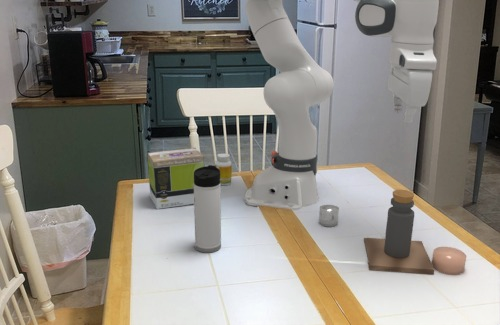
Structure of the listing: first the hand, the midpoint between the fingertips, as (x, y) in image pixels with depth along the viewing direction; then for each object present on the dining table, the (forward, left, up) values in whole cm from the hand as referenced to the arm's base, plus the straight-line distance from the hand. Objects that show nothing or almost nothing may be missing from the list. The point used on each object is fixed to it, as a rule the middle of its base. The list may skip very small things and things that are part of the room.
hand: (402, 117), depth 116 cm
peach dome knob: (+12, -9, -33) cm, 36 cm away
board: (+1, -6, -33) cm, 33 cm away
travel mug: (-44, -7, -33) cm, 55 cm away
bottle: (+1, -6, -31) cm, 32 cm away
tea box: (-59, +21, -33) cm, 71 cm away
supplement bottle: (-48, +38, -33) cm, 70 cm away
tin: (-15, +10, -32) cm, 37 cm away
